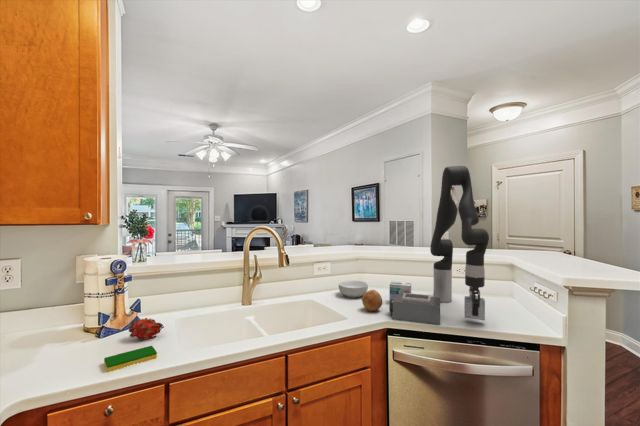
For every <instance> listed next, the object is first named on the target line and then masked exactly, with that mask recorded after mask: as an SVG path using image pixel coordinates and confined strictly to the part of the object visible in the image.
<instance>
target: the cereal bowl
mask: <svg viewBox="0 0 640 426" xmlns="http://www.w3.org/2000/svg"><path fill="white" fill-rule="evenodd" d="M368 289H369V284H368V283H367V282H365V281H363V280H344V281H340V282H339V283H338V290H339V292H340V293H341V294H342V295H345V296H346V297H348V298H353V299H354V298H356V299H357V298H360V297H362V296H364V294H365V293H366V292H367V291H368Z"/></svg>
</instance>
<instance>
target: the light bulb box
mask: <svg viewBox="0 0 640 426" xmlns="http://www.w3.org/2000/svg"><path fill="white" fill-rule="evenodd" d="M404 293H411V294H412V282H402V281H401V282H400V281H393V280H392V281H391V282H390V283H389V295H388V296H389V301H388V302H389V304H390V299H394V297H395V295H396V294H404Z"/></svg>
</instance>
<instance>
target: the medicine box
mask: <svg viewBox="0 0 640 426" xmlns="http://www.w3.org/2000/svg"><path fill="white" fill-rule="evenodd" d="M463 301H464V302H463V303H464V307H463V308H464V319H470V320H476V321H477V320H478V321H486V300H485V298H484V297H480V307H479V308H478V316H473V315H472V301H471V297H469V295H467V296H464V300H463ZM474 304H477V303H476V302H475V303H474Z"/></svg>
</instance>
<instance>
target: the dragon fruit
mask: <svg viewBox="0 0 640 426" xmlns="http://www.w3.org/2000/svg"><path fill="white" fill-rule="evenodd" d="M164 328H165V327H164V324H162V323H161V322H156V320H155V319H153V318H147V317H145V318H138V319H137V320H134V322H132V324H131V325H130V326H129V329H128V333H129V338H130V337H131V338H135V337H136V338H137V340H139V341H141V342H142V341H143V340H146V339H148V340H154V339H155V338H157V336H156V335H158V334H160V333H161V330H162V329H164Z"/></svg>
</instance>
